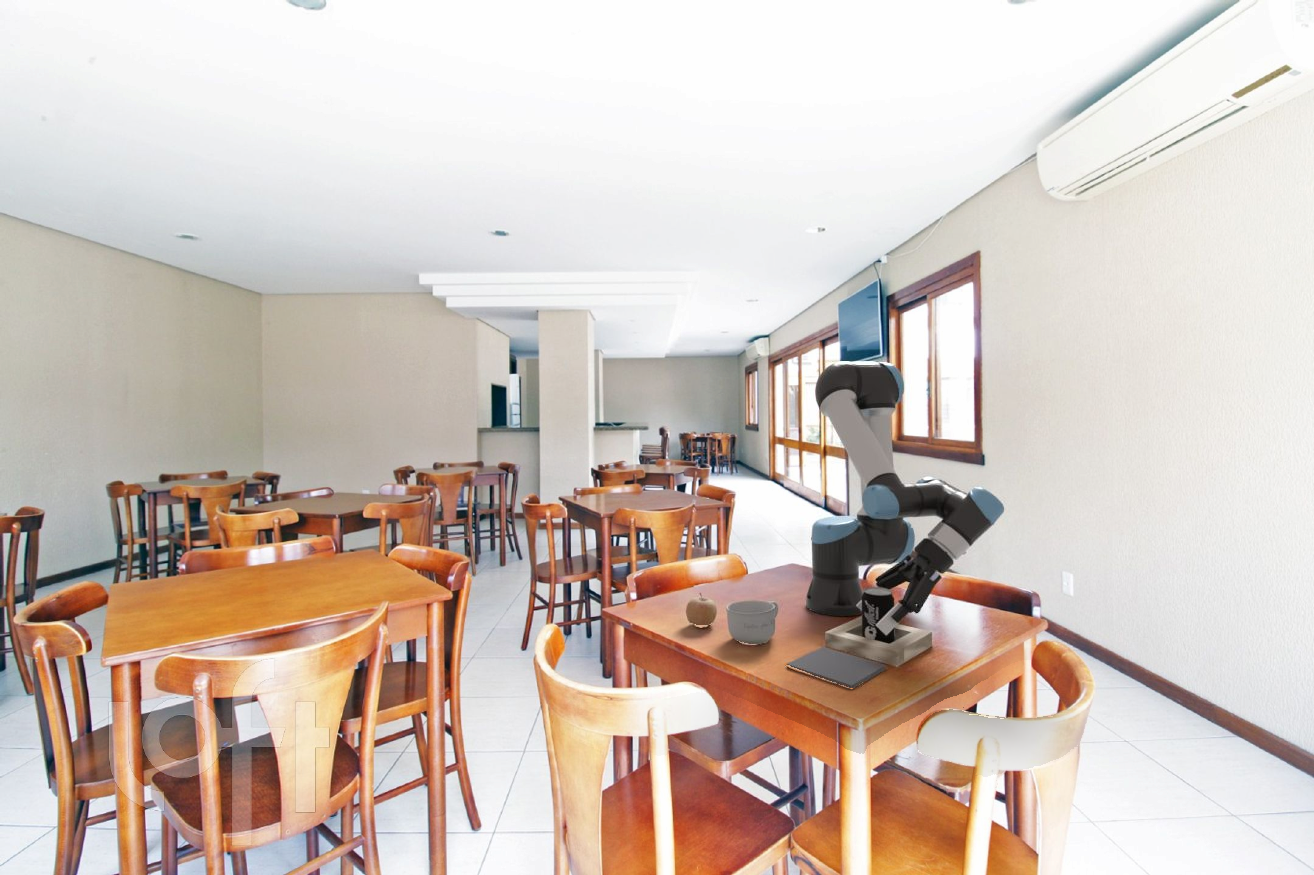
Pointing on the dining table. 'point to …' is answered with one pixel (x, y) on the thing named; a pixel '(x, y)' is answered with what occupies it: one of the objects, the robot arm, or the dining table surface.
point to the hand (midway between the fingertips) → (870, 619)
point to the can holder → (894, 653)
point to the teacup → (752, 620)
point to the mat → (838, 666)
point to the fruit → (701, 611)
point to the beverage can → (876, 613)
